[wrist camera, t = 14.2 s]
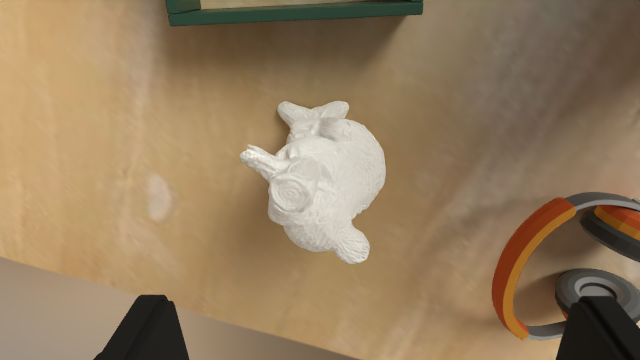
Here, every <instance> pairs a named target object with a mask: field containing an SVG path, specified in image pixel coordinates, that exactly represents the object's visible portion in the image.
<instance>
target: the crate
mask: <svg viewBox="0 0 640 360" xmlns="http://www.w3.org/2000/svg"><path fill="white" fill-rule="evenodd" d="M165 1H166V6H167V12H168V14H169V15H168V17H169V22H170V26H191V25H213V24H234V23H255V22H276V21H297V20H318V19H340V18H361V17H382V16H403V15H422V14H423V0H383V1H363V2H343V3H323V4H303V5H282V6H262V7H242V8H222V9H202V10H200V9H201V4H200V0H165Z"/></svg>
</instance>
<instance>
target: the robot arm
mask: <svg viewBox="0 0 640 360" xmlns="http://www.w3.org/2000/svg"><path fill="white" fill-rule="evenodd" d="M94 360H189V356H188V353H187V349H186V345H185V342H184V338H183V335H182V330H181V327H180V323H179V320H178V316H177V312H176V308H175V305H174V302H173V301H168V299H167V297H166V296H165V295H140V296H139V297H138V298H137V299H136V300H135V302H134V304H133V305H132V306H131V308H130V310H129V311H128V313H127V314H126V316H125V317H124V319H123V320H122V322H121V324H120V325H119V326H118V328H117V330H116V331H115V333H114V334H113V336H112V337H111V339H110V340H109V342H108V343H107V345H106V347H105V348H104V350H103V351H102V352H101V353H99V354H98V355H97V356H96V357H95V358H94ZM556 360H640V328H639V327H638V326H637V325H636V324H635V322H634V321H633V320H632V319H631V317H630V316H629V315H628V314H627V313H626V311H625V310H624V309H623V308H622V307H621V305H620V304H619V303H618V302H617V301H616V300H615V299H614V298H613V297H611V296H581V297H580V298H579V300H578V302H574V303H572V305H571V307H570V311H569V314H568V318H567V321H566V325H565V328H564V332H563V335H562V339H561V343H560V346H559V350H558V353H557V357H556Z"/></svg>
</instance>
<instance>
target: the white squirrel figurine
mask: <svg viewBox="0 0 640 360" xmlns="http://www.w3.org/2000/svg"><path fill="white" fill-rule="evenodd" d="M348 110H349V105H348V103H347V102H344V101H333V102H331V103H328V104H325V105H324V106H322V107H320V106H319V107H314V108H312V109H308V108H306V107H303V106H298V105H296V104H293V103H290V102H288V101H284V102H281V104H279V106H278V108H277V112H278V114H279V115H280V117H281V118H282V119H283V120H284V121H285V122H286V123H287V124H288V125H289V127H290V128H291V129H290V132H289V135H288V137H287V142H286V145H285V146H284V147H283V148H282V149H280V150H279V151H278V152H277V153H276V154H275V156H273V155H271V154H269V153H268V152H266V151H264V150H263V149H262V148H260V147H256V146H252V145H248V146H247V147H248V149H247V150H246V151H243V152H241V154H240V156H239V159H240V161H241V162H244V163H247V166H248V167H251V168H253V169H254V170H255V171H257V172H259V173H260V174H261V175H262V176H263V177H264V178H265V179H266V180H267V181H268V182H269V184H270V186H269V188H268V195H269V196H270V198H269V202H268V205H269V206H268V216H269V218H270V219H271V220H272V221H273V222H275V223H277V224H280V225H283V227H284V230H285V232H286V234H287V235H288V237H289V239H291V241H292V242H294V243H295V244H296V245H297V246H299V247H301V248H303V249H307V250H308V251H310V252H324V251H329V250H332V251H334V252H335V253H336V255H337V256H338V258H339V259H340V260H342V261H344V262H345V263H349V264H354V263H355V264H358V263H360V262H363V261H364V260H366V259H367V257H368V254H369V249H370V244H369V242H368V240H367V239H366V237H365V235H364V234H363V233H362V232H361V231H359V230H357V229H356V228H355V227H354V226H353V225H352V221H351V220H352V219H354V218H355V216H356V215H357V214H360V213H361V211H362V210H366V209H367V208H368V207H369V205H370V203H372V202H373V200H374V198H375V197H376V195H377V194H378V192H379V191H380V190H381V189H382V187H383V185H384V182H385V178H386V176H385V175H386V166H385V158H384V152H383V149H382V148H381V146H380V144H379V142H377V140H376V139H375V138H374V136H373V134H371V133H370V131H369V130H367V129H366V127H365V126H364V125H362V124H360V123H359V122H356V121H351V120H348V119H344V118H345V117H346V114H347V112H348Z"/></svg>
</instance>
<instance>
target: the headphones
mask: <svg viewBox="0 0 640 360" xmlns="http://www.w3.org/2000/svg"><path fill="white" fill-rule="evenodd" d="M594 205H598V206H597V208H596V209H595V211H586V213H585V214H584V216H583V217H582V219H581V220H580V223H581V225H582V227H583V229H584V230H585V232H586V233H587V234H589V235H590V236H591V237H592V238H594V239H595V240H597V241H598V242H600V243H601V244H603V245H605V246H606V247H608V248H610V249H612V250H613V251H615V252H617V253H619V254H621V255H623V256H625V257H628V258H630V259H632V260H635V261H637V262H640V200H639V199H633V200H631V199H629V198H627V197H623V196H620V195H615V194H608V193H600V192H587V193H581V194H576V195H573V196H570V197H567V198H565V199H564V198H555V199H553V200H552V201H550V202H548V203H547V204H545V205H544V206H542V207H541V208H540V209H538V210H537V211H535V212H534V213H533V214H532V215H531V216H530V217H529V218H528V219H526V220H525V221H524V222H523V224H522V225H521V226H520V227H519V228H518V229H517V230H516V232H515V233H514V234H513V236H512V237H511V239H510V240H509V241H508V243H507V245H506V247H505V248H504V250H503V252H502V254H501V256H500V259H499V261H498V264H497V267H496V270H495V273H494V278H493V283H492V301H493V305H494V308H495V310H496V313H497V315H498V317H499V319H500V321H501V322H502V323H503V325H504V326H505V327H506V328H507V329H508V330H510V331H511V332H512V333H513V334H514V335H515V336H517V337H518V338H520V339H521V340H524V339H525V338H529V339H533V340H549V339H555V338H560V337H562V335H563V332H564V328H565V325H566V321H567V318H568V314H569V311H570V307H571V305H572V303H574V302H578V300H579V298H580V297H581V296H611V297H613V298H614V299H615V300H616V301H617V302H618V303H619V304H620V305H621V307H622V308H623V309H624V310H625V311H626V313H627V314H628V315H629V316H630V317H631V319H632V320H633V321H634V322H635V324H636V323H637V322H638V321H639V320H640V292H639V290H638V289H637V288H636V287H635V286H634V285H632V284H631V283H630V282H628V281H627V280H625V279H624V278H622V277H620V276H617V275H615V274H613V273H609V272H606V271H602V270H596V269H576V270H571V271H569V272H566V273H564V274H563V275H562V276H560V277H559V278H558V280H557V282H556V286H555V299H556V301H557V304H558V305H559V306H560V308H561V311H562V314H563V315H564V317H565V318H566V321H563V322H558V323H554V324H549V325H543V326H526V325H524V324H523V323H522V322H520V321H519V320H518V319H516V318H515V316H514V312H513V296H514V291H515V287H516V284H517V281H518V278H519V275H520V273H521V270H522V268H523V267H524V265H525V263H526V261H527V259H528V258H529V256H530V255H531V253H532V252H533V250H534V249H535V248H536V247H537V246H538V244H539V243H540V242H541V241H542V240H543V239H544V238H545V237H546V236H547V235H548V234H549V233H551V232H552V231H553V230H554V229H555V228H557V227H558V226H560V225H561V224H562V223H564V222H565V221H567V220H569V219H570V218H572V217H573V216H574V215H575V214H576V211H577V210H580V209H583V208H585V207H590V206H594Z"/></svg>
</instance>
